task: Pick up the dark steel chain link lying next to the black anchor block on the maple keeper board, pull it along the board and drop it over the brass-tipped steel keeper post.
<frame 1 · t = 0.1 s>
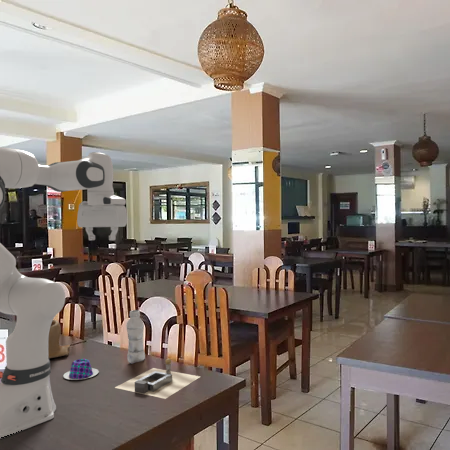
hand: (101, 240, 153), 48 cm above the table, tool pointing down, fingers open, 8 cm apart
plastic bottle: (136, 363, 168), on the table
steel link: (154, 384, 143), point 1 cm above the table, touching keeper board
plaid fedora hat: (81, 376, 157), on the table
keeper board: (158, 386, 145), on the table
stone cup: (51, 358, 178), on the table
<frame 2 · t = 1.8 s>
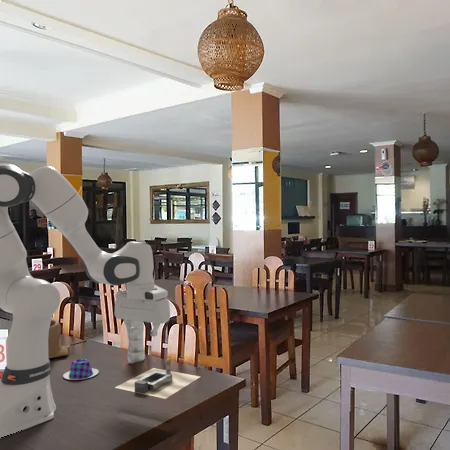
hand: (142, 334, 142), 18 cm above the table, tool pointing down, fingers open, 8 cm apart
nothing on the table moved.
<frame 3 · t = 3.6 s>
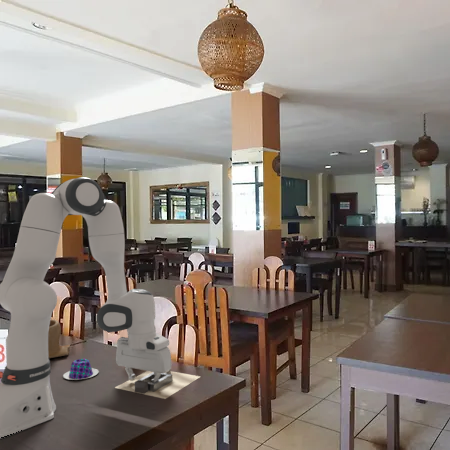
hand: (143, 382, 142), 2 cm above the table, tool pointing down, fingers open, 8 cm apart
steel link: (154, 384, 143), point 1 cm above the table, touching gripper, keeper board
everything else where it was.
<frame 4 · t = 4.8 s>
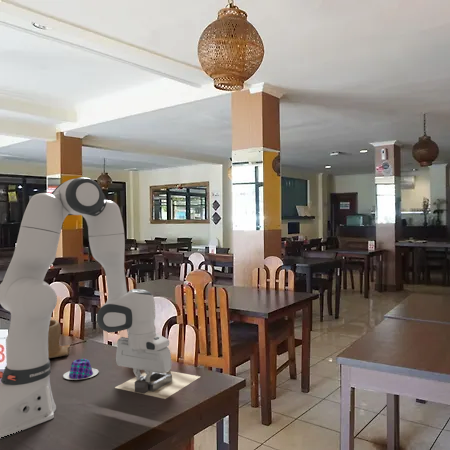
hand: (143, 382, 142), 2 cm above the table, tool pointing down, fingers closed on steel link, 1 cm apart
steel link: (154, 384, 143), point 1 cm above the table, touching gripper, keeper board
everything else where it was.
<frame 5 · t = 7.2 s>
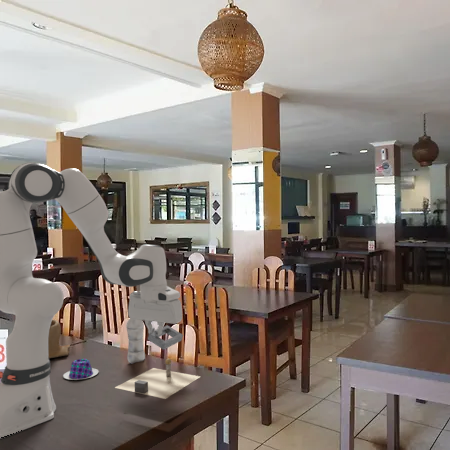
hand: (155, 333, 148), 16 cm above the table, tool pointing down, fingers closed on steel link
steel link: (164, 339, 149), point 14 cm above the table, tilted 23°, touching gripper
everything else where it was.
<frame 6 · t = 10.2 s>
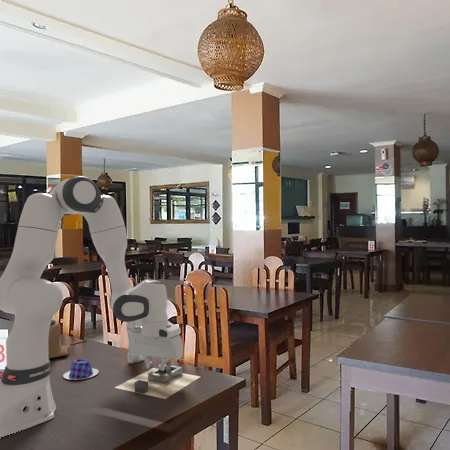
hand: (155, 369, 148), 5 cm above the table, tool pointing down, fingers open, 4 cm apart
steel link: (165, 376, 149), point 1 cm above the table, touching keeper board
everything else where it was.
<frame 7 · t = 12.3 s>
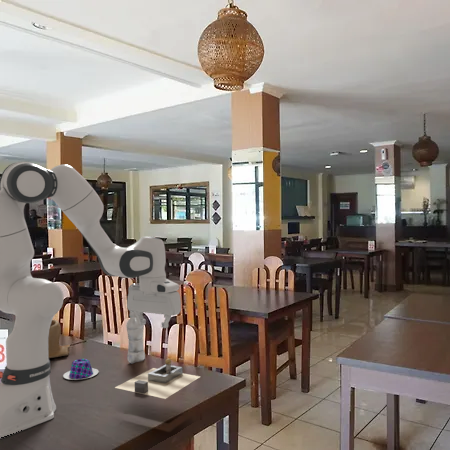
hand: (153, 326, 148), 19 cm above the table, tool pointing down, fingers open, 8 cm apart
nothing on the table moved.
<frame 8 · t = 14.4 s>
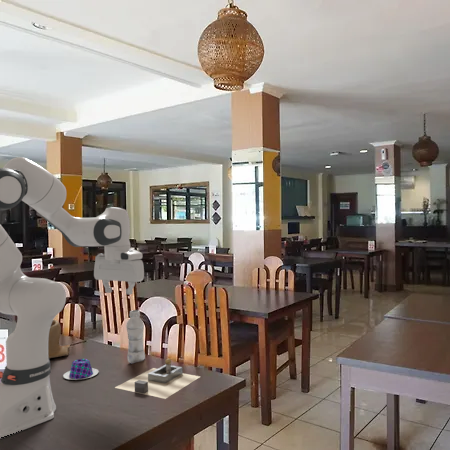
hand: (118, 293, 155), 29 cm above the table, tool pointing down, fingers open, 8 cm apart
at the end: steel link 1.1 cm from the target spot on the keeper board, point 1.5 cm above the keeper board's base; the gripper is holding nothing; steel link tilted 0° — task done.
